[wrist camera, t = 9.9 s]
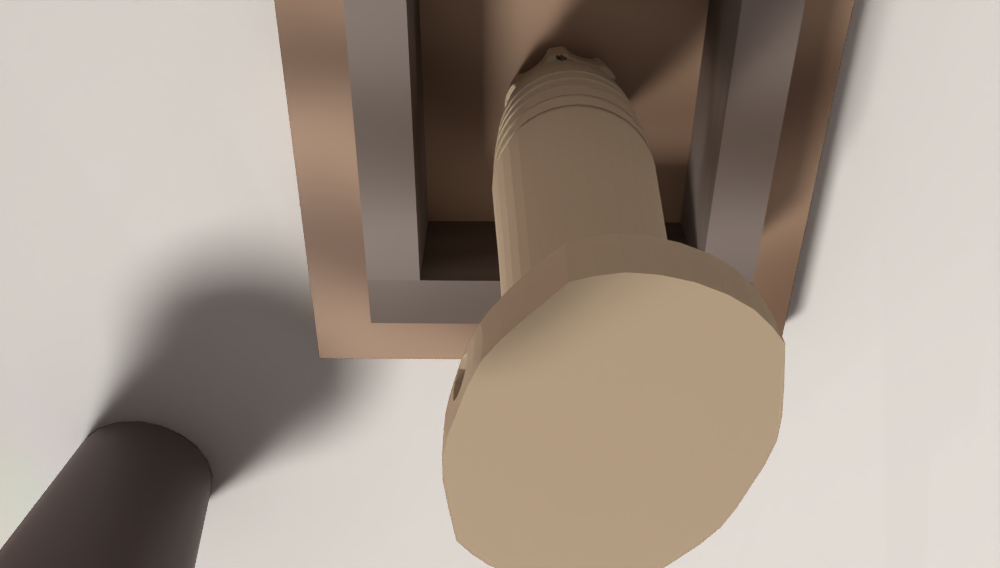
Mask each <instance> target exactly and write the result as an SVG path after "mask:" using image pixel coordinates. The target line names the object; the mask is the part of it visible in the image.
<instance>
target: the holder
mask: <svg viewBox="0 0 1000 568" xmlns="http://www.w3.org/2000/svg"><path fill="white" fill-rule="evenodd" d="M274 2H275V10H276V18H277V26H278V34H279V41H280V49H281V57H282V65H283V73H284V81H285V89H286V97H287V105H288V112H289V120H290V128H291V136H292V144H293V152H294V160H295V168H296V176H297V184H298V191H299V199H300V207H301V215H302V223H303V231H304V239H305V247H306V255H307V263H308V270H309V278H310V286H311V294H312V302H313V310H314V318H315V326H316V334H317V341H318V349H319V357H320V358H379V359H462V356H463V353H464V350H465V348H466V346H467V344H468V342H469V340H470V338H471V336H472V334H473V332H474V331H475V329H476V327H477V326H478V325H479V323H480V322H481V321H482V319H483V318H484V317H485V315H486V314H487V313H488V311H489V310H490V309H491V308H492V307H493V306H494V305H495V304H496V303H497V301H498V300H499V299H500V298H501V285H500V271H499V258H498V247H497V237H496V226H495V215H494V204H493V192H492V185H493V168H494V156H495V147H496V142H497V136H498V131H499V126H500V123H501V119H502V115H503V112H504V109H505V99H506V95H507V91H508V88H509V86H510V84H511V82H512V80H513V78H514V77H515V76H516V74H523V73H525V72H527V71H529V70H530V69H532V68H533V67H535V66H536V65H537V64H538V63H539V62H540V61H541V60H542V59H543V58H544V56H545V55H546V53H547V50H548V49H549V48H553V47H559V46H564V47H566V49H567V50H568V51H569V52H571V53H572V54H574V55H576V56H579V57H582V58H587V59H594V58H600V59H601V60H602V61H603V62H604V63H605V64H606V65H608V67H609V68H610V69H611V70H612V72H613V74H614V75H615V82H616V84H617V85H618V86H619V87H620V88H621V90H622V91H623V92H624V94H625V95H626V96H627V98H628V99H629V101H630V103H631V105H632V107H633V108H634V110H635V112H636V114H637V116H638V118H639V120H640V122H641V124H642V127H643V129H644V132H645V135H646V138H647V141H648V144H649V147H650V150H651V153H652V157H653V160H654V163H655V168H656V174H657V180H658V186H659V192H660V198H661V205H662V211H663V217H664V223H665V229H666V235H667V240H670V241H675V242H679V243H682V244H685V245H688V246H690V247H693V248H696V249H698V250H701V251H703V252H706V253H709V254H711V255H713V256H714V257H716V258H718V259H719V260H721V261H723V262H724V263H726V264H728V265H730V266H731V267H733V268H735V269H736V270H737V271H738V272H739V273H740V274H741V275H742V276H743V277H744V278H745V279H746V280H747V281H748V282H749V283H750V284H751V285H752V286H753V287H754V288H755V289H756V291H757V292H758V293H759V295H760V296H761V297H762V299H763V300H764V301H765V303H766V304H767V306H768V307H769V309H770V311H771V313H772V315H773V317H774V319H775V321H776V324H777V326H778V328H779V331H780V333H781V335H782V334H783V330H784V325H785V320H786V316H787V311H788V306H789V302H790V297H791V292H792V288H793V283H794V278H795V274H796V269H797V264H798V260H799V255H800V250H801V246H802V241H803V236H804V232H805V227H806V222H807V218H808V213H809V208H810V204H811V199H812V195H813V190H814V185H815V181H816V176H817V171H818V167H819V162H820V157H821V153H822V148H823V143H824V139H825V134H826V129H827V125H828V120H829V115H830V111H831V106H832V101H833V97H834V92H835V87H836V83H837V78H838V73H839V69H840V64H841V60H842V55H843V50H844V46H845V41H846V36H847V32H848V27H849V22H850V18H851V13H852V8H853V4H854V0H274Z"/></svg>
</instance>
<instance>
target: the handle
mask: <svg viewBox="0 0 1000 568" xmlns="http://www.w3.org/2000/svg"><path fill="white" fill-rule="evenodd" d="M492 192H493V204H494V215H495V226H496V237H497V247H498V258H499V271H500V285H501V298H500V299H499V300H498V301H497V303H496V304H495V305H494V306H493V307H492V308H491V309H490V310H489V311H488V313H487V314H486V315H485V317H484V318H483V319H482V321H481V322H480V323H479V325H478V326H477V327H476V329H475V331H474V332H473V334H472V336H471V338H470V340H469V342H468V344H467V346H466V348H465V350H464V353H463V356H462V360H461V363H460V366H459V369H458V372H457V375H456V378H455V380H454V383H453V387H452V390H451V393H450V397H449V401H448V405H447V409H446V415H445V425H444V435H443V452H442V466H443V483H444V488H445V493H446V498H447V503H448V508H449V512H450V516H451V520H452V524H453V528H454V532H455V537H456V541H457V542H459V543H460V544H461V545H462V546H463V547H464V548H465V549H467V550H468V551H469V552H470V553H471V554H473V555H474V556H476V557H477V558H479V559H480V560H482V561H483V562H485V563H486V564H488V565H490V566H492V567H495V568H664V567H666V566H667V565H669V564H670V563H672V562H674V561H675V560H677V559H678V558H680V557H681V556H683V555H684V554H686V553H687V552H689V551H690V550H692V549H693V548H695V547H696V546H698V545H700V544H701V543H702V542H703V541H704V540H706V539H707V538H708V537H709V536H711V535H712V534H713V533H714V532H716V531H717V530H718V529H719V528H720V527H721V526H722V525H723V524H724V523H725V521H726V520H727V519H728V518H729V516H730V515H731V514H732V513H733V512H734V510H735V509H736V508H737V506H738V505H739V503H740V502H741V500H742V499H743V497H744V496H745V494H746V493H747V491H748V490H749V488H750V487H751V485H752V483H753V482H754V480H755V479H756V477H757V476H758V474H759V473H760V471H761V470H762V468H763V467H764V465H765V463H766V461H767V459H768V457H769V455H770V453H771V451H772V449H773V447H774V445H775V443H776V441H777V437H778V433H779V428H780V424H781V419H782V409H783V394H784V367H785V342H784V340H783V338H782V335H781V333H780V331H779V328H778V326H777V324H776V321H775V319H774V317H773V315H772V313H771V311H770V309H769V307H768V306H767V304H766V303H765V301H764V300H763V299H762V297H761V296H760V295H759V293H758V292H757V291H756V289H755V288H754V287H753V286H752V285H751V284H750V283H749V282H748V281H747V280H746V279H745V278H744V277H743V276H742V275H741V274H740V273H739V272H738V271H737V270H736V269H735V268H733V267H731V266H730V265H728V264H726V263H724V262H723V261H721V260H719V259H718V258H716V257H714V256H713V255H711V254H709V253H706V252H703V251H701V250H698V249H696V248H693V247H690V246H688V245H685V244H682V243H679V242H675V241H670V240H667V235H666V229H665V223H664V217H663V211H662V205H661V198H660V192H659V186H658V180H657V174H656V168H655V163H654V160H653V157H652V153H651V150H650V147H649V144H648V141H647V138H646V135H645V132H644V129H643V127H642V124H641V122H640V120H639V118H638V116H637V114H636V112H635V110H634V108H633V107H632V105H631V103H630V101H629V99H628V98H627V96H626V95H625V94H624V92H623V91H622V90H621V88H620V87H619V86H618V85H617V84H616V82H615V75H614V74H613V72H612V70H611V69H610V68H609V67H608V65H606V64H605V63H604V62H603V61H602V60H601V59H600V58H594V59H587V58H582V57H579V56H576V55H574V54H572V53H571V52H569V51H568V50H567V49H566V47H564V46H559V47H553V48H549V49H548V50H547V53H546V55H545V56H544V58H543V59H542V60H541V61H540V62H539V63H538V64H537V65H536V66H535V67H533V68H532V69H530V70H529V71H527V72H525V73H523V74H516V76H515V77H514V78H513V80H512V82H511V84H510V86H509V88H508V91H507V95H506V99H505V109H504V112H503V115H502V119H501V123H500V126H499V131H498V136H497V142H496V147H495V156H494V168H493V185H492Z"/></svg>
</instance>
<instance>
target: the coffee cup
mask: <svg viewBox="0 0 1000 568" xmlns="http://www.w3.org/2000/svg"><path fill="white" fill-rule="evenodd" d="M211 484H212V473H211V470H210V467H209V464H208V461H207V460H206V458H205V457H204V456H203V454H202V453H201V452H200V450H199V449H198V448H197V447H196V446H195V445H194V444H192V443H191V442H190V441H188V440H187V439H186V438H184V437H183V436H182V435H180V434H178V433H176V432H173V431H171V430H169V429H166V428H164V427H162V426H159V425H153V424H148V423H143V422H118V423H114V424H111V425H108V426H105V427H102V428H99V429H98V430H96V431H95V432H94V433H92V434H91V435H90V436H88V437H87V438H86V439H85V440H84V442H83V443H82V444H81V446H80V447H79V448H78V449H77V451H76V452H75V453H74V455H73V456H72V457H71V459H70V460H69V461H68V462H67V464H66V465H65V466H64V468H63V469H62V470H61V472H60V473H59V474H58V475H57V477H56V478H55V479H54V481H53V482H52V483H51V485H50V486H49V487H48V488H47V490H46V491H45V492H44V494H43V495H42V496H41V498H40V499H39V500H38V501H37V503H36V504H35V505H34V507H33V508H32V509H31V511H30V512H29V513H28V514H27V516H26V517H25V518H24V520H23V521H22V522H21V524H20V525H19V526H18V527H17V529H16V530H15V531H14V533H13V534H12V535H11V537H10V538H9V539H8V540H7V542H6V543H5V544H4V546H3V547H2V548H1V550H0V568H194V567H195V563H196V558H197V553H198V548H199V544H200V539H201V534H202V529H203V525H204V520H205V515H206V511H207V506H208V501H209V496H210V492H211Z"/></svg>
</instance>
